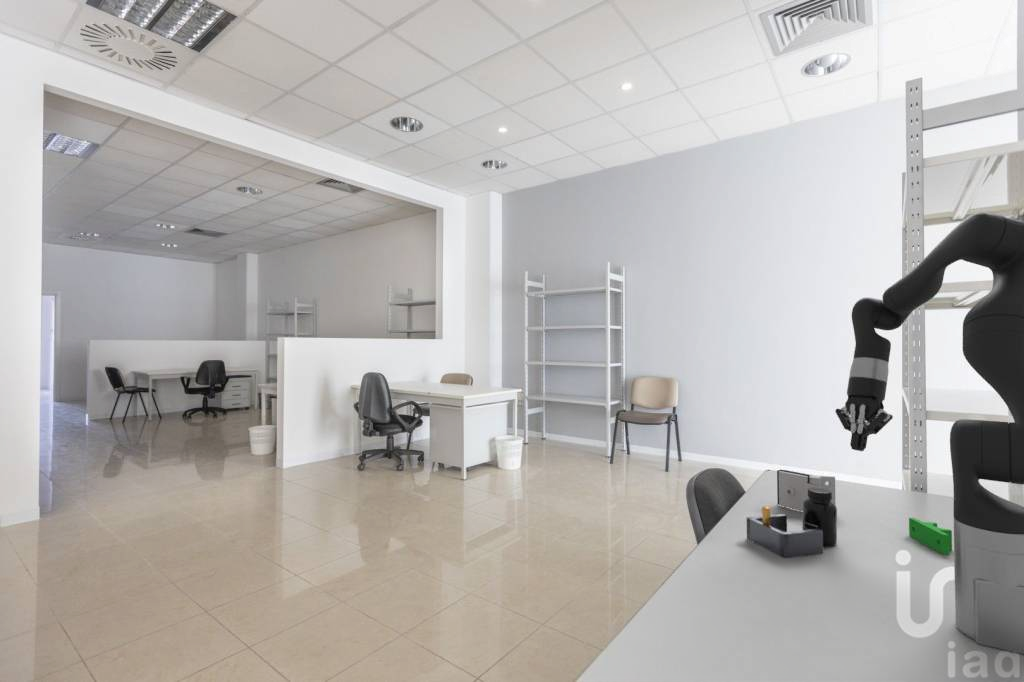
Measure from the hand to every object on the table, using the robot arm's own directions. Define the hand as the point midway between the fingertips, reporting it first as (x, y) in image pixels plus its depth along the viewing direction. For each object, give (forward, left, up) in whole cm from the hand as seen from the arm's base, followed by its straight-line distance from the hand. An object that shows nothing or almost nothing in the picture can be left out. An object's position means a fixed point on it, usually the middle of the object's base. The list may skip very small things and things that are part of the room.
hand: (857, 450), depth 119 cm
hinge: (+18, +11, -21) cm, 29 cm away
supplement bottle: (-7, +8, -21) cm, 23 cm away
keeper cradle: (-14, +15, -21) cm, 29 cm away
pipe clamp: (+3, -14, -21) cm, 26 cm away
